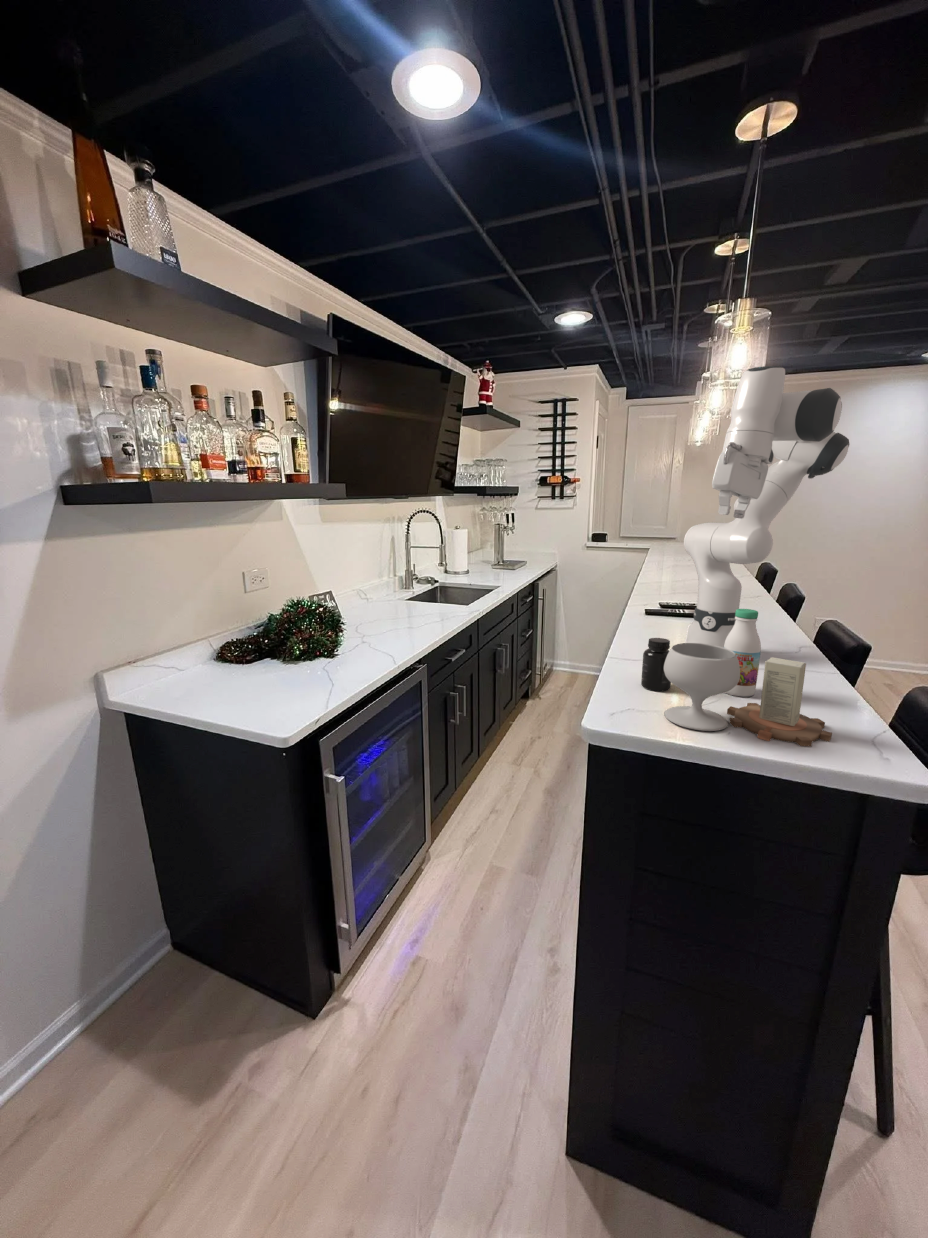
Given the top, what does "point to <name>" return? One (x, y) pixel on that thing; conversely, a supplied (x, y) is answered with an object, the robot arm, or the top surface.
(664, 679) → the supplement bottle
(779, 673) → the skincare box
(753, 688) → the milk bottle
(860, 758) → the top surface
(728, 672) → the chalice
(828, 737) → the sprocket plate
